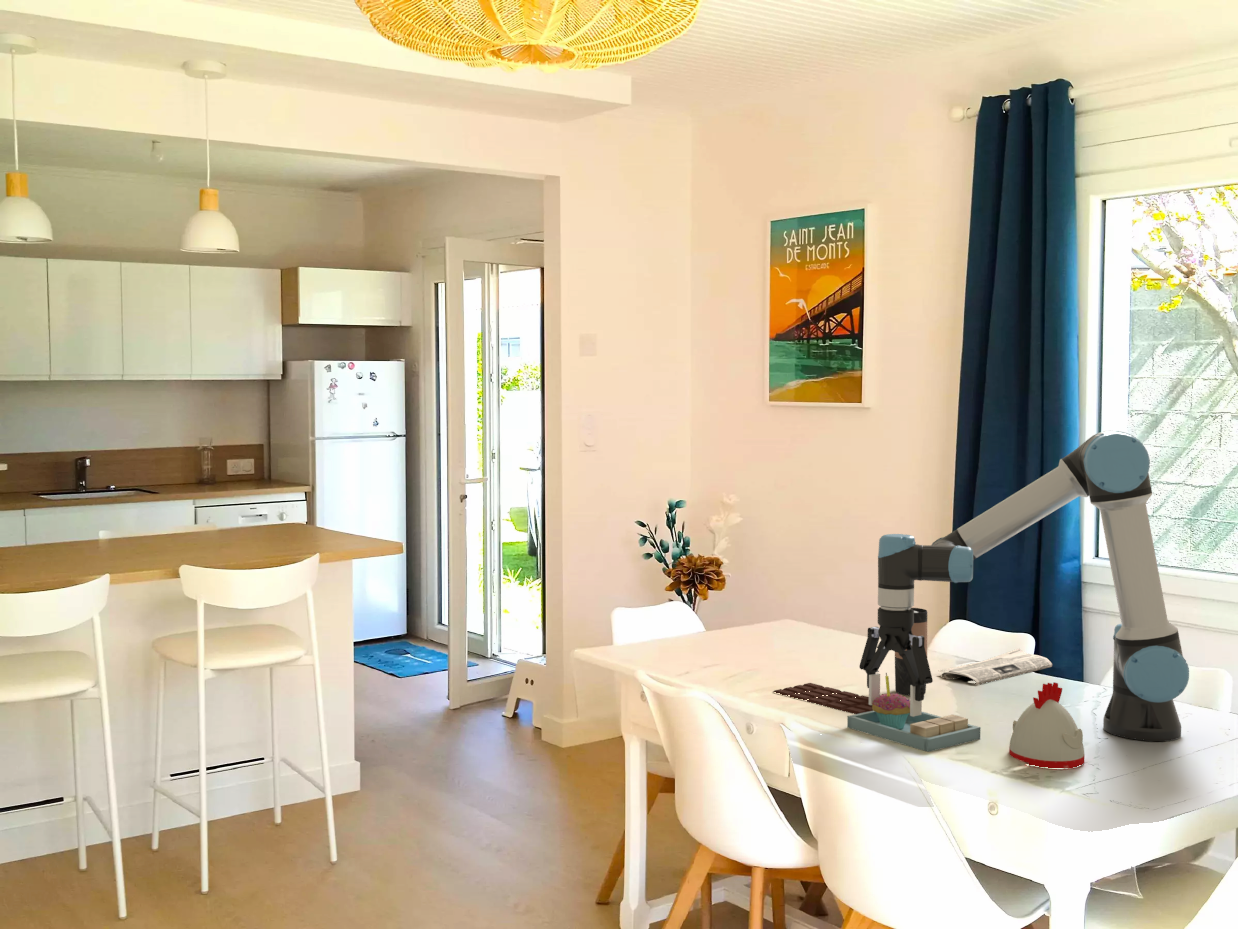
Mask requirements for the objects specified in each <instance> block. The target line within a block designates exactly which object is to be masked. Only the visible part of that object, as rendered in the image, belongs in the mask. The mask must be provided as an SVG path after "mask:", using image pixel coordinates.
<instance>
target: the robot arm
mask: <svg viewBox="0 0 1238 929" xmlns="http://www.w3.org/2000/svg"><path fill="white" fill-rule="evenodd" d="M1150 462H1151V460H1150V456H1149V452H1148V450H1147V449H1146V446H1145V445H1144V444H1143V442H1141V441H1140V439H1138V438H1136V436H1134V435H1132V434H1130V433H1127V432H1124V431H1119V430H1116V431H1115V430H1105V431H1100V432H1098V433H1095V434H1093V435H1092V436H1090V437H1089V438H1087V439H1086V440H1085V441H1084V442H1083V443H1082V444H1080V445H1078V447H1077V448H1075V449H1074V450H1072V451H1071V452H1070V453H1068V454H1067V455H1066V456H1063V457H1061V458H1060V459H1059V462H1058V466H1056V467H1055V468H1053V469H1052V470H1051V471H1049V472H1046V474H1043V475H1042V476H1040V477H1038V479H1035V480H1034V481H1032V482H1031V483H1029V484H1027V485H1026V486H1025V487H1023V488H1021V489H1020V490H1018V491H1016V492H1014V493H1013V494H1011V495H1010V496H1008V497H1006V498H1005V499H1004V500H1002V501H1000V502H998V503H997V504H995V505H994V506H992V507H991V508H989V509H987V510H986V511H984V512H982V513H981V514H979V515H977V516H975V517H974V518H973V519H971V520H969V521H968V522H966V523H965V524H962V525H961V526H960V527H958V528H957V529H956V530H953V531H952V532H950V533H948V534H947V535H945V536H943V537H939V538H938V539H936V540H935V541H933V542H932V544H931V545H926V544H924V545H923V544H918V543H916V538H915V536H913V535H911V534H903V533H890V534H889V533H888V534H883V535H882V536H880V538H879V539H878V553H877V605H878V606H879V607H878V608H877V625H879V626H871V627H868V628H867V638H866V642H865V645H864V649H863V653H862V655H861V659H860V662H859V669H860V670H863V671H864V672H865V673H866V687H867V689H868V697H869V705H873V704H872V701H873V700H874V699H875V698H876V697H878V696H880V695H881V673H879V672H880V671H879V668H880V667H881V666H882V665H883V662H884V660H885V659H886V657H887V655H888V654H889V652H890V651H893V652H894V653H895V652H898V653H899V655H900V656H901V657H902V658H903V661H904V663H905V665H906V667H907V670H908V672H909V674H910V676H911V679H912V681H913V684H912V685H910V695H909V696H910V698H909V700H910V716H912V717H914V716H918V715H922V712H923V710H922V708H923V706H922V704H923V703H922V702H923V701H924V699H925V694H924V686H925V684H926V685H928V684H932V683H933V682H934V680H933V675H932V673H931V672H932V671H931V667H930V664H929V660H928V654H927V655H926V651H925V647H924V642H925V638H924V636H914V635H913V634H912V630H911V629H912V626H913V625H914V610H913V609H912V608H913V607H914V606H915V581H920V582H921V581H926V582H927V581H928V582H929V581H930V582H949V583H954V584H958V583H969V582H971V581H972V580H973V579H974V560H976V559H977V558H979V557H981V556H982V555H983V554H986V553H987V552H989V551H990V550H992V549H993V548H995V547H997V546H999V545H1001V544H1002V543H1004V542H1006V541H1008V540H1009V539H1011V538H1012V537H1014V536H1015V535H1017V534H1018V533H1020V532H1022V531H1024V530H1025V529H1027V528H1029V527H1031V526H1032V525H1034V524H1035V523H1037V522H1039V521H1040V520H1042V519H1043V518H1045V517H1047V516H1049V515H1050V514H1052V513H1053V512H1055V511H1057V510H1058V509H1060V508H1062V507H1064V506H1065V505H1067V504H1069V503H1070V502H1072V501H1073V500H1075V499H1077V498H1079V497H1083V498H1088V497H1089V501H1090V502H1089V503H1090V504H1092V505H1093V506H1094V507H1096V508H1097V509H1098V510H1099V511H1100V515H1101V516H1100V517H1101V521H1102V522H1101V523H1102V528H1103V532H1104V537H1105V543H1106V548H1107V555H1108V559H1109V565H1110V570H1111V575H1112V581H1113V587H1114V591H1115V592H1114V593H1115V597H1116V602H1117V609H1118V612H1119V618H1120V623H1118V624H1117V625H1115V627H1114V632H1113V636H1112V639H1113V664H1112V665H1113V668H1112V671H1113V672H1112V677H1113V678H1112V694H1111V697H1110V699H1109V702H1108V706H1107V707H1106V710H1105V713H1104V715H1103V723H1102V724H1103V728H1102V729H1103V730H1104V731H1105V732H1107V733H1109V734H1112V735H1114V736H1118V737H1121V738H1125V739H1128V740H1129V739H1130V740H1137V741H1144V742H1145V741H1146V742H1149V741H1150V742H1168V741H1169V742H1170V741H1174V740H1177V739H1180V738H1181V737H1182V723H1181V721H1180V718H1179V714H1178V710H1177V709H1176V705H1175V701H1174V699H1176V698H1178V697H1179V696H1180V695H1181V694H1182V693H1183V692H1184V691H1185V689H1186V688H1187V686H1188V683H1189V680H1190V667H1189V664H1188V662H1187V660H1186V659H1185V657H1184V655H1183V650H1182V645H1181V639H1180V634H1179V629H1178V627H1177V626H1176V625H1174V624H1172V623H1171V622H1169V620H1168V615H1167V610H1166V604H1165V598H1164V593H1163V588H1162V584H1161V578H1160V571H1159V568H1158V567H1159V566H1158V563H1157V556H1156V551H1155V545H1154V540H1153V535H1152V531H1151V530H1152V529H1151V525H1150V518H1149V514H1148V508H1147V501H1148V500H1150V498H1151V497H1152V495H1153V492H1152V491H1153V490H1152V483H1151V479H1150V474H1149V471H1150V464H1151V463H1150ZM906 649H907V650H906ZM905 650H906V651H905Z"/></svg>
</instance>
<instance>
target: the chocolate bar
mask: <svg viewBox="0 0 1238 929" xmlns="http://www.w3.org/2000/svg"><path fill="white" fill-rule="evenodd" d="M805 691H806V692H805ZM809 691H810V692H809ZM772 692H776V693H780V694H782V695H781V696H783V695H787V696H788V695H790V697H789V698H791V697H794V698H793V699H795V698H798V699H803V700H807V699H809V700H807V703H810V702H811V704H814V703H816V704H815V705H818V704H819V705H818V706H822V705H823V707H826V706H827V707H826V708H829V707H830V709H833V708H834V709H835V710H837V709H838V711H841V710H842V712H845V711H846V713H848V714H849V713H850V714H853V713H854V714H853V715H855V714H860V713H865V712H869V711H873V709H872V705H869V696H867V695H859V694H858V693H854V692H850V691H846V690H843V691H842V690H841V689H837V688H832V687H828V686H823V685H820V684H817V683H812V682H807V683H804V684H798V685H794V686H789V687H785V688H783V689H782V688H779V689H774V690H773V691H772ZM795 693H796V694H795ZM798 693H800V694H798ZM832 693H834V694H832ZM836 693H837V694H836ZM822 695H824V696H822ZM826 695H828V696H826ZM787 696H786V697H787ZM816 697H818V698H816ZM855 697H856V698H855ZM798 699H797V700H798ZM840 700H841V701H840Z"/></svg>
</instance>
